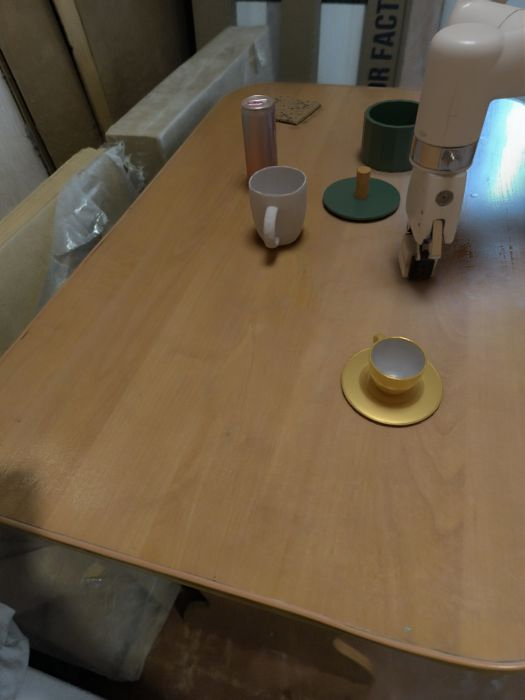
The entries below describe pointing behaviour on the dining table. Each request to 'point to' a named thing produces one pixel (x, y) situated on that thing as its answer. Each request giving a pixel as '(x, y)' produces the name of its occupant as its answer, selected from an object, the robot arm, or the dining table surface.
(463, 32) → the robot arm
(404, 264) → the block
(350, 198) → the tin lid
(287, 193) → the mug
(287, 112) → the cookie
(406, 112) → the tin
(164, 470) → the dining table surface
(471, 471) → the dining table surface
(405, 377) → the cup
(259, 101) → the beverage can
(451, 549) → the dining table surface
